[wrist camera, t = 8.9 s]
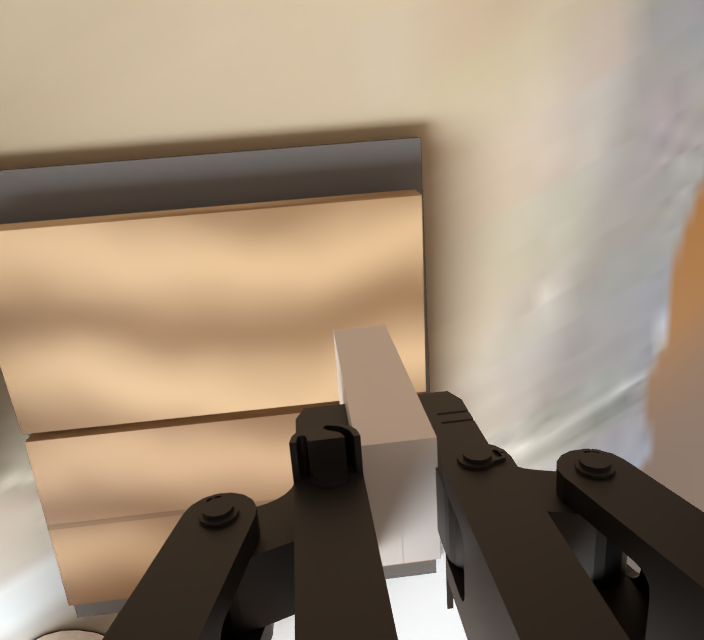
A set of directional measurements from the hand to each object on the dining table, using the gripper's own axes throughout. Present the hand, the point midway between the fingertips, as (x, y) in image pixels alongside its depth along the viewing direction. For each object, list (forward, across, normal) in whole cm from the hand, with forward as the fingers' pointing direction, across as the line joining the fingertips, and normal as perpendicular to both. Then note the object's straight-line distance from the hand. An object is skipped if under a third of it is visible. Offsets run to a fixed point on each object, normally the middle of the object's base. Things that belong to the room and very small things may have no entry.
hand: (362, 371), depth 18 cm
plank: (+13, -6, -1) cm, 14 cm away
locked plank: (+13, -6, -12) cm, 19 cm away
